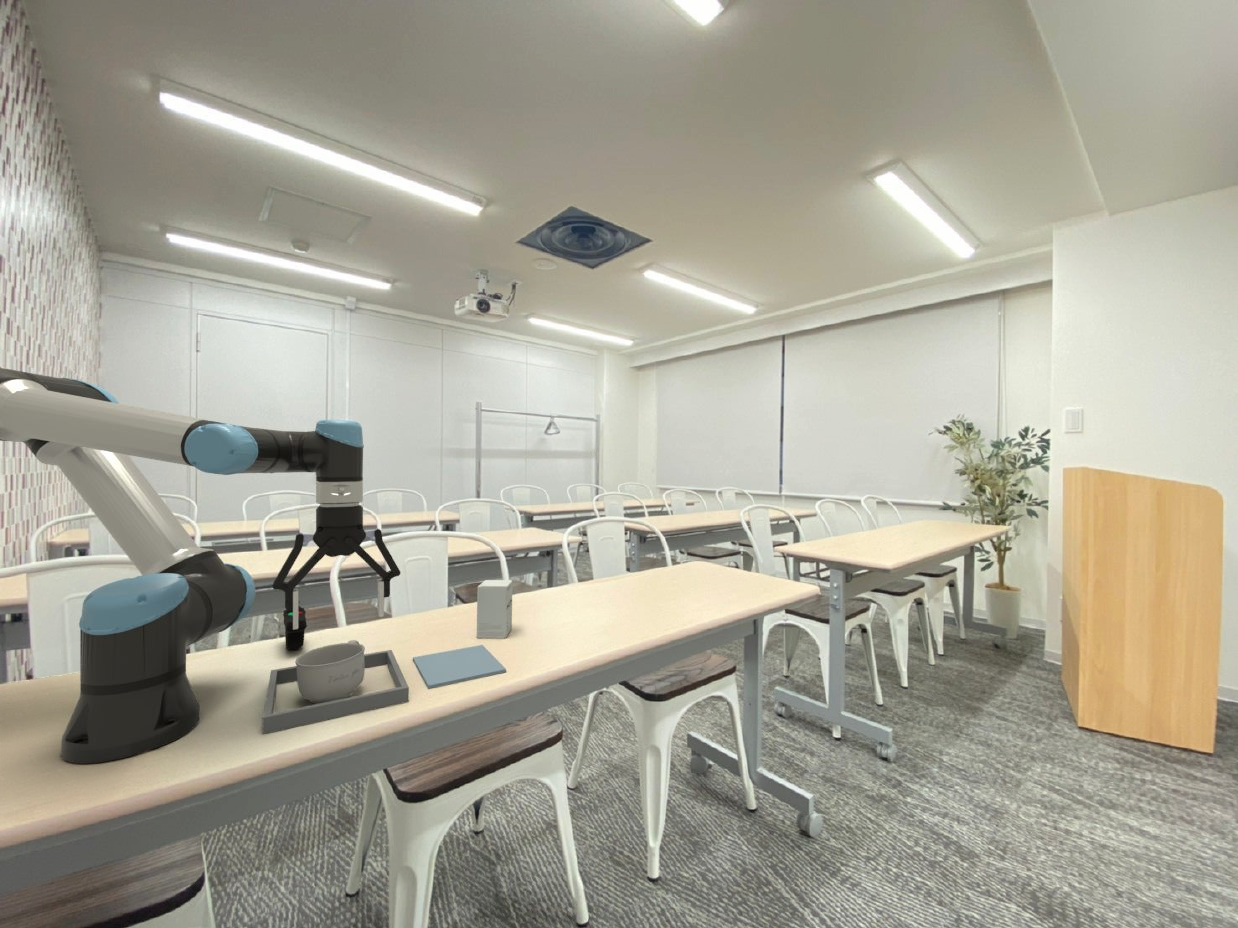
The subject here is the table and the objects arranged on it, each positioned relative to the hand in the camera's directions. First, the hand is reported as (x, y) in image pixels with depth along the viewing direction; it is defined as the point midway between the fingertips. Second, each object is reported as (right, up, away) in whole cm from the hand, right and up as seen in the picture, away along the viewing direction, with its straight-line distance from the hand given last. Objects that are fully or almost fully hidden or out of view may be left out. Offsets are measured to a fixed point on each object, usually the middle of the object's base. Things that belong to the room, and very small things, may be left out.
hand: (339, 620), depth 92 cm
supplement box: (+20, -14, +33) cm, 41 cm away
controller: (-22, -13, +21) cm, 33 cm away
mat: (+18, -13, +12) cm, 25 cm away
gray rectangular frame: (0, -13, 0) cm, 13 cm away
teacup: (0, -13, 0) cm, 13 cm away
